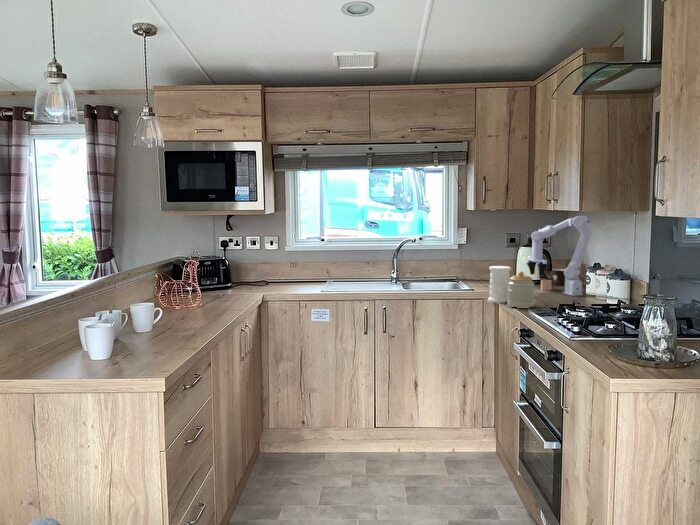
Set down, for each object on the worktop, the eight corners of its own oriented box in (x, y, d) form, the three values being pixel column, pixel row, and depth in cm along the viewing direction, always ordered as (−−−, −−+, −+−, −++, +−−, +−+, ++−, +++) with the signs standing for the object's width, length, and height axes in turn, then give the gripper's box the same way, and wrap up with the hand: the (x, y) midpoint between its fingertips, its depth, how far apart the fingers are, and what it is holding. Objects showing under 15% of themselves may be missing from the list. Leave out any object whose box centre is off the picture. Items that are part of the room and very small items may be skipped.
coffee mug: (568, 286, 331) (569, 270, 330) (554, 287, 332) (555, 270, 331) (561, 284, 343) (562, 268, 342) (548, 284, 343) (548, 268, 342)
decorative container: (507, 298, 294) (508, 265, 292) (513, 302, 282) (513, 268, 280) (485, 298, 294) (486, 265, 292) (490, 302, 283) (491, 268, 281)
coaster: (551, 293, 308) (551, 292, 308) (534, 294, 307) (534, 293, 307) (542, 290, 318) (542, 289, 318) (526, 291, 317) (526, 290, 316)
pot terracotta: (552, 291, 317) (553, 280, 317) (543, 291, 317) (544, 281, 316) (547, 289, 323) (548, 279, 322) (538, 289, 322) (539, 279, 321)
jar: (507, 308, 267) (508, 273, 265) (505, 303, 280) (506, 269, 278) (535, 309, 265) (536, 273, 263) (532, 304, 277) (533, 270, 275)
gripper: (551, 252, 311) (551, 276, 312) (534, 250, 324) (533, 273, 326) (541, 253, 308) (541, 276, 310) (524, 251, 322) (524, 274, 323)
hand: (536, 275), depth 318 cm, fingers open, 7 cm apart
